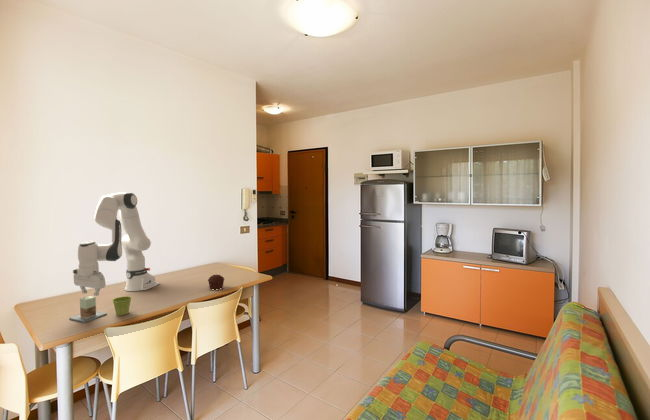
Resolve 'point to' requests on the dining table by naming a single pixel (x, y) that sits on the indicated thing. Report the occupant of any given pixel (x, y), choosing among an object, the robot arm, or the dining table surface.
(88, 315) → the block
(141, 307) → the dining table surface
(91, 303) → the block
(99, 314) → the pad
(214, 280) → the muffin
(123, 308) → the plant pot
